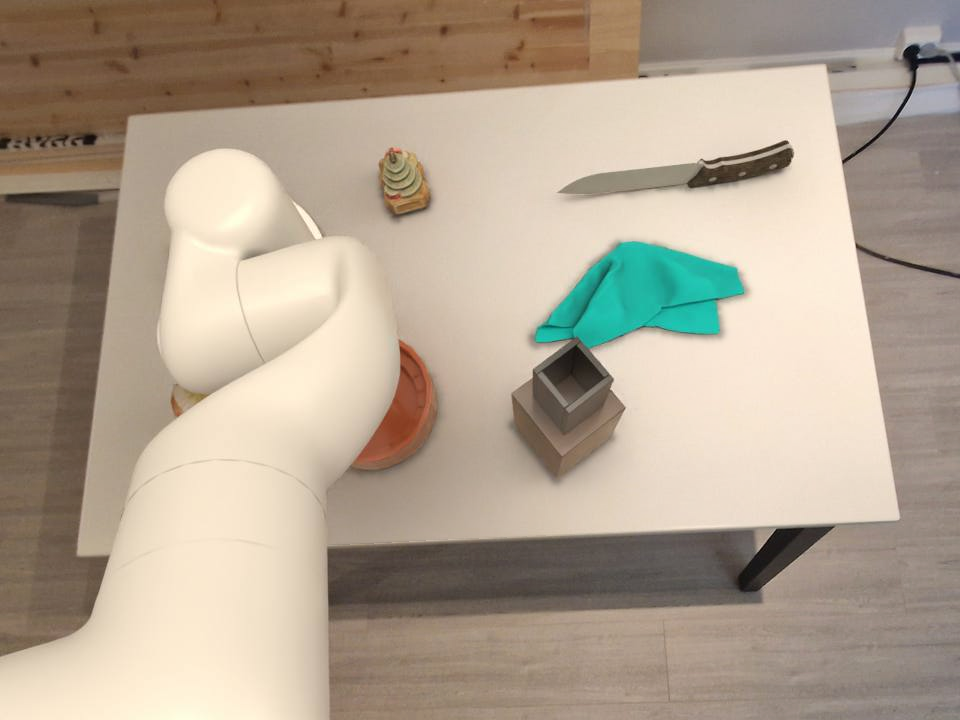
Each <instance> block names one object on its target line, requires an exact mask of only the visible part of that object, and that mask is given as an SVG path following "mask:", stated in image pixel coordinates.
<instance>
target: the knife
mask: <svg viewBox="0 0 960 720" xmlns="http://www.w3.org/2000/svg"><path fill="white" fill-rule="evenodd" d="M794 158H795V150H794V147H793V146H792V144H790V141H789V140H787V139H785V140H782V141H780V142H776V143H775V144H771V145H768V146H766V147H763V148H760V149H756V150H753V151H749V152H745V153H741V154H736V155H730V156H720V157H717V158H715V159H711V160H704V159H703V158H700V159H699V160H698V161H697V162H691V163H690V162H689V163H681V164H680V163H679V164H673V165H671V164H670V165H664V166H663V165H662V166H654V167H646V168H636V169H628V170H627V169H626V170H619V171H610V172H601V173H595V174H590V175H587V176H584V177H580V178H578V179H577V180H574V181H572V182H570V183H568V184H567V185H565V186H564V187H562V188H561V189H559V190H558V191H557V192H556V194H562V195H595V194H596V195H597V194H604V193H605V194H607V193H614V192H615V193H616V192H623V191H633V190H643V189H651V188H659V187H661V188H662V187H670V186H679V185H685V184H687V185H688V187H689V188H694V187H700V186H709V185H713V184H720V183H726V182H732V181H737V180H742V179H747V178H750V177H754V176H759V175H762V174H767V173H771V172H776V171H778V170H782V169H785V168H788V167H789V166H790V165H791V163H792V162H793V161H792V160H793V159H794Z"/></svg>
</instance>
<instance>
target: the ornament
mask: <svg viewBox="0 0 960 720" xmlns="http://www.w3.org/2000/svg"><path fill="white" fill-rule="evenodd" d="M378 168H379V172H380V174H379V176H378V177H379V182H380V185H381V187H382V190H383V199H384V203H385V205H386V207H387V208H388V210H390V211H391V212H392V214H394V215H396V216H397V215H402V214H406V213H411V212H414V211H419V210H422V209H426V208H427V207H428V206H429V203H430V201H429V200H430V198H431V192H430V189H429V186H428V183H427V181H425V179H426V178H425V173H424V168H423V165H422V163H421V162H420V161H419V159H418V157H417V155H416V154H415V153H414V152H412V151H408V150H403V149H401V148H400V147H398V146H394V147H390V148H388V149H386V150H385V153H384V156H383V157H382V158H381V159H380V160H379V161H378Z"/></svg>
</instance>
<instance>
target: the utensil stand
mask: <svg viewBox="0 0 960 720" xmlns="http://www.w3.org/2000/svg"><path fill="white" fill-rule="evenodd" d="M614 380H615V378H614V377H613V376H612V374H611V373H609V371H608V370H607V369H606V367H604V365H603V364H602V363H601V362H600V360H599V359H598V358H597V357H596V356H595V355H594V354H593V353H592V352H591V350H590V348H587V347H586V346H585V345H584V343H583V342H581V340H580V339H579V338H578V337H575V338H572V339H571V340H570V341H568V342H567V343H566V344H564V345H563V346H562V347H561V348H559V349H558V350H556V351H555V352H554V353H553V354H551V355H550V356H549V357H547V358H546V359H545V360H543V361H542V362H540V363H539V364H538V365H536V366H534V368H532V378H530V379H529V380H528V381H526V382H524V384H522V385H520V386H519V387H518V388H517V389H515V390H514V391H513V392H512V393H511V395H510V396H511V404H512V412H513V422H514V426H515V428H517V430H518V432H519V433H520V434H521V435H522V436H523V437H524V439H525V440H526V442H527V443H528V444H529V445H530V446H531V448H532V449H533V450H534V452H535V453H536V454H537V456H539V458H540V459H541V461H542V462H543V463H544V464H545V465H546V467H547V468H548V470H550V472H551V473H552V474H553V475H554V477H555V478H556V479H559V478H560V477H561V476H563V475H565V473H567V472H568V471H569V470H571V469H572V468H573V467H574V466H576V465H577V464H579V463H580V462H581V461H582V460H583V459H585V458H586V457H587V456H589V455H590V454H591V453H592V452H594V451H595V450H597V449H598V448H599V447H600V446H602V445H603V444H604V443H605V442H607V441H608V440H609V439H611V438H612V436H613V434H614V433H615V430H616V428H617V426H618V424H619V422H620V420H621V418H622V416H623V414H624V412H625V411H626V409H627V407H626V406H625V404H624V403H623V402H622V400H620V398H618V397H617V395H616V394H615V392H613V391H612V390H611V388H612V385H613V384H614Z"/></svg>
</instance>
